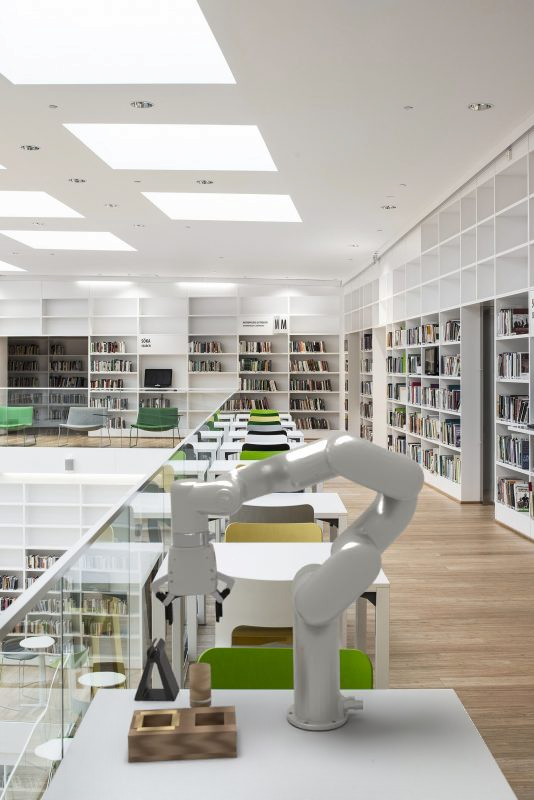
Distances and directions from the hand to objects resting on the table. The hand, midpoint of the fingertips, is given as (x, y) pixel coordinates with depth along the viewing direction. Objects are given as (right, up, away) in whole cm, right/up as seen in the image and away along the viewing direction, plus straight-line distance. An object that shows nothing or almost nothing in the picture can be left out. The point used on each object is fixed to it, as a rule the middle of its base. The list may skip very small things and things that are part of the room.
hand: (194, 621), depth 162 cm
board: (-1, -21, -11) cm, 23 cm away
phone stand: (-10, -20, +13) cm, 26 cm away
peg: (+1, -20, +1) cm, 20 cm away
